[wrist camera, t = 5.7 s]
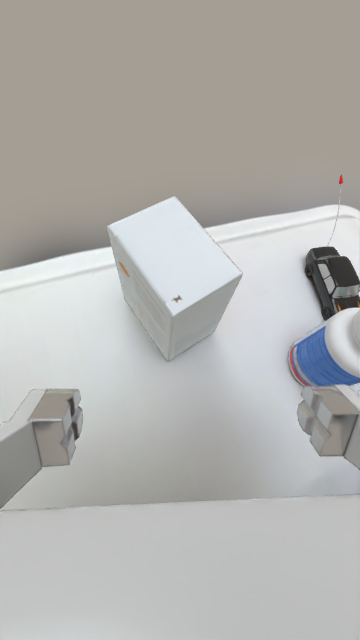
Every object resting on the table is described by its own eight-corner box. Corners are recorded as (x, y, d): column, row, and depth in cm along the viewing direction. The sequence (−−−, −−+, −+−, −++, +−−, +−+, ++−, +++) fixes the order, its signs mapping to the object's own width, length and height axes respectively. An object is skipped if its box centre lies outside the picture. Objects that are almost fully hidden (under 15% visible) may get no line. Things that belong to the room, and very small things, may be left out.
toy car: (324, 327, 28) (383, 289, 21) (287, 233, 33) (325, 175, 25) (358, 322, 29) (427, 284, 21) (317, 230, 33) (362, 173, 26)
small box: (214, 332, 27) (247, 275, 17) (166, 363, 25) (173, 319, 16) (169, 272, 29) (176, 192, 20) (122, 298, 28) (105, 223, 18)
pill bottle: (324, 405, 25) (419, 388, 16) (275, 366, 26) (339, 330, 17) (350, 361, 27) (448, 324, 18) (304, 326, 28) (374, 275, 19)
